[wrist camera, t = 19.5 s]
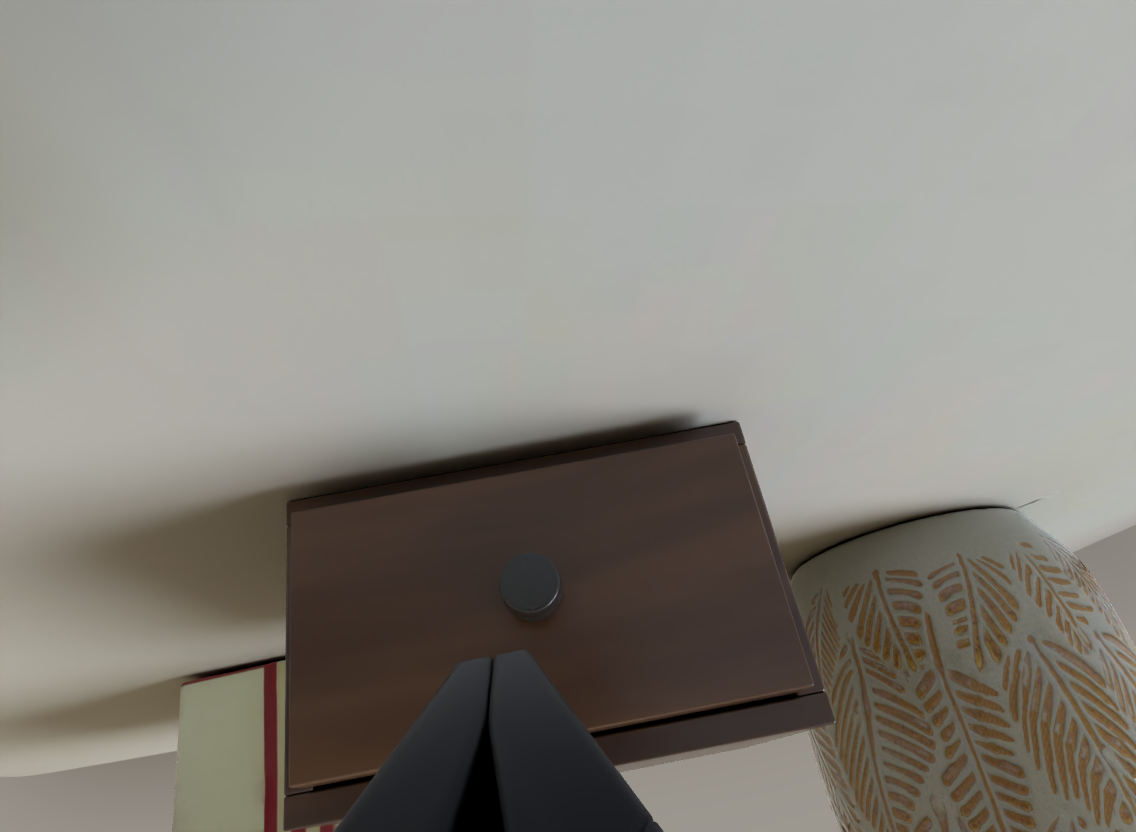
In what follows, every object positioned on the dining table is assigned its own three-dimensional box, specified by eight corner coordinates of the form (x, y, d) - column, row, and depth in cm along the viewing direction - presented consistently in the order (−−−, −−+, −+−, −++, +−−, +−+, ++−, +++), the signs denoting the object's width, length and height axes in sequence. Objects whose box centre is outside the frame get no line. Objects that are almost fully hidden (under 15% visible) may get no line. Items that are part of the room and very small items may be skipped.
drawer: (273, 497, 20) (266, 788, 16) (741, 413, 20) (828, 679, 17) (399, 606, 32) (410, 787, 29) (690, 552, 32) (735, 723, 29)
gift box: (535, 651, 52) (577, 933, 44) (303, 701, 54) (303, 981, 46) (459, 607, 37) (501, 1022, 29) (140, 679, 39) (99, 1089, 31)
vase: (855, 592, 54) (1021, 1045, 42) (704, 589, 44) (863, 1190, 31) (1102, 506, 43) (1430, 1093, 30) (975, 474, 32) (1394, 1344, 20)
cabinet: (286, 501, 22) (282, 832, 18) (739, 420, 23) (837, 723, 19) (398, 601, 34) (411, 813, 30) (693, 546, 35) (746, 747, 31)
